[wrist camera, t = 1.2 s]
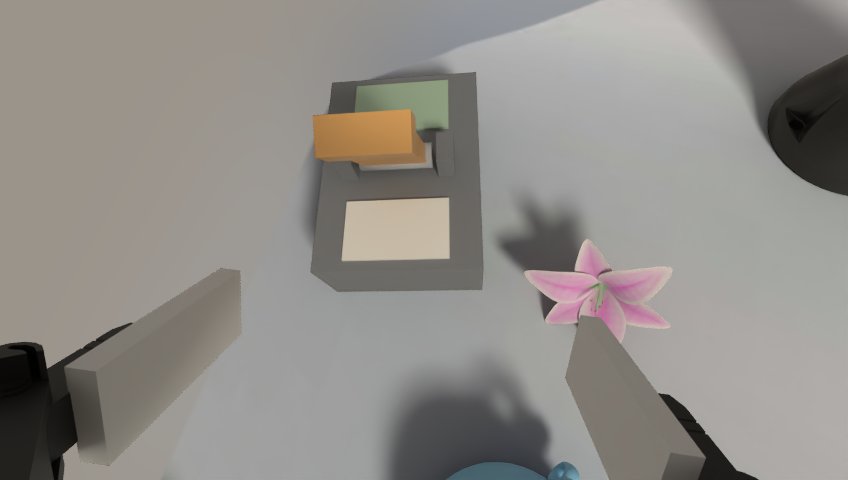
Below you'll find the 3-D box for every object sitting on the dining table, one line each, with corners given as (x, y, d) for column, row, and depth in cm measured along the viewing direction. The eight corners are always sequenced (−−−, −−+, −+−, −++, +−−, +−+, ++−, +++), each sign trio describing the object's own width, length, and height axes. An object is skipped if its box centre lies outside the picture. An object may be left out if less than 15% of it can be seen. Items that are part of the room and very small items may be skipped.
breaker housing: (482, 289, 44) (484, 258, 33) (337, 291, 45) (297, 262, 35) (475, 118, 51) (475, 50, 41) (352, 126, 53) (322, 62, 43)
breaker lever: (433, 171, 40) (415, 152, 27) (365, 174, 41) (312, 158, 27) (432, 142, 40) (413, 108, 26) (363, 146, 41) (309, 115, 27)
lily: (509, 270, 45) (506, 295, 36) (600, 201, 42) (621, 209, 33) (580, 354, 45) (594, 401, 35) (677, 292, 41) (721, 325, 32)
